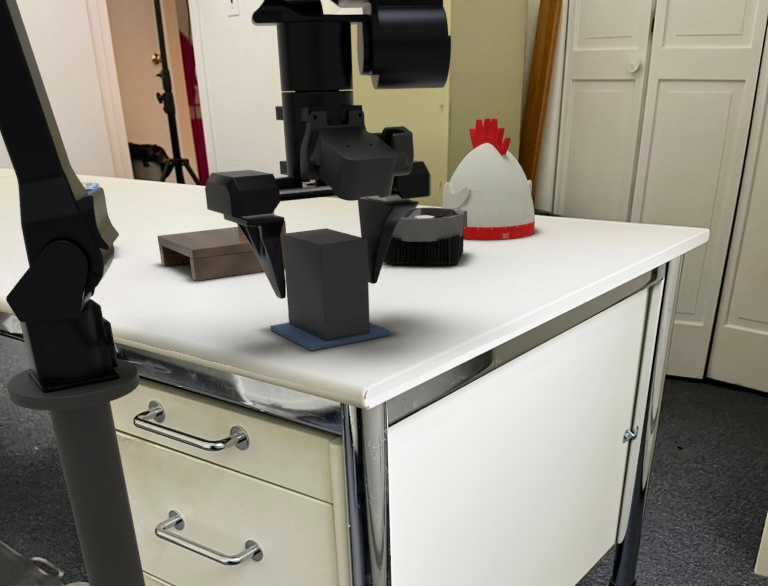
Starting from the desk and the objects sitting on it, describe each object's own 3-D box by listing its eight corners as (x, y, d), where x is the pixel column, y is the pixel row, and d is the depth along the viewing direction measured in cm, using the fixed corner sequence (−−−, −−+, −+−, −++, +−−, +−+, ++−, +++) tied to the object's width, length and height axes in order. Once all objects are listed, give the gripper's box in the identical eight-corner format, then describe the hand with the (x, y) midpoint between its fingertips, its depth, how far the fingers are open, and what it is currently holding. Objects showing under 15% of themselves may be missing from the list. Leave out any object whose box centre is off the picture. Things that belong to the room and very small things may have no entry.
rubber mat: (311, 350, 68) (310, 346, 68) (270, 330, 74) (269, 325, 74) (390, 335, 72) (390, 330, 72) (345, 316, 78) (345, 312, 78)
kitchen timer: (493, 221, 127) (498, 115, 120) (554, 232, 117) (562, 117, 110) (421, 230, 121) (421, 119, 113) (478, 243, 110) (482, 122, 103)
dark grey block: (325, 341, 69) (320, 245, 65) (289, 323, 74) (282, 233, 71) (370, 332, 71) (367, 238, 68) (331, 316, 77) (326, 228, 73)
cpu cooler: (375, 217, 95) (390, 205, 104) (376, 266, 98) (390, 250, 107) (462, 217, 94) (469, 205, 102) (460, 268, 96) (468, 252, 105)
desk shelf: (196, 281, 93) (189, 231, 90) (161, 264, 102) (154, 218, 99) (289, 267, 99) (285, 220, 96) (248, 253, 108) (244, 209, 105)
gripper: (251, 95, 53) (271, 327, 61) (473, 88, 62) (467, 292, 70) (191, 95, 62) (215, 299, 69) (394, 88, 71) (396, 270, 78)
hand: (327, 290), depth 71 cm, fingers open, 9 cm apart
